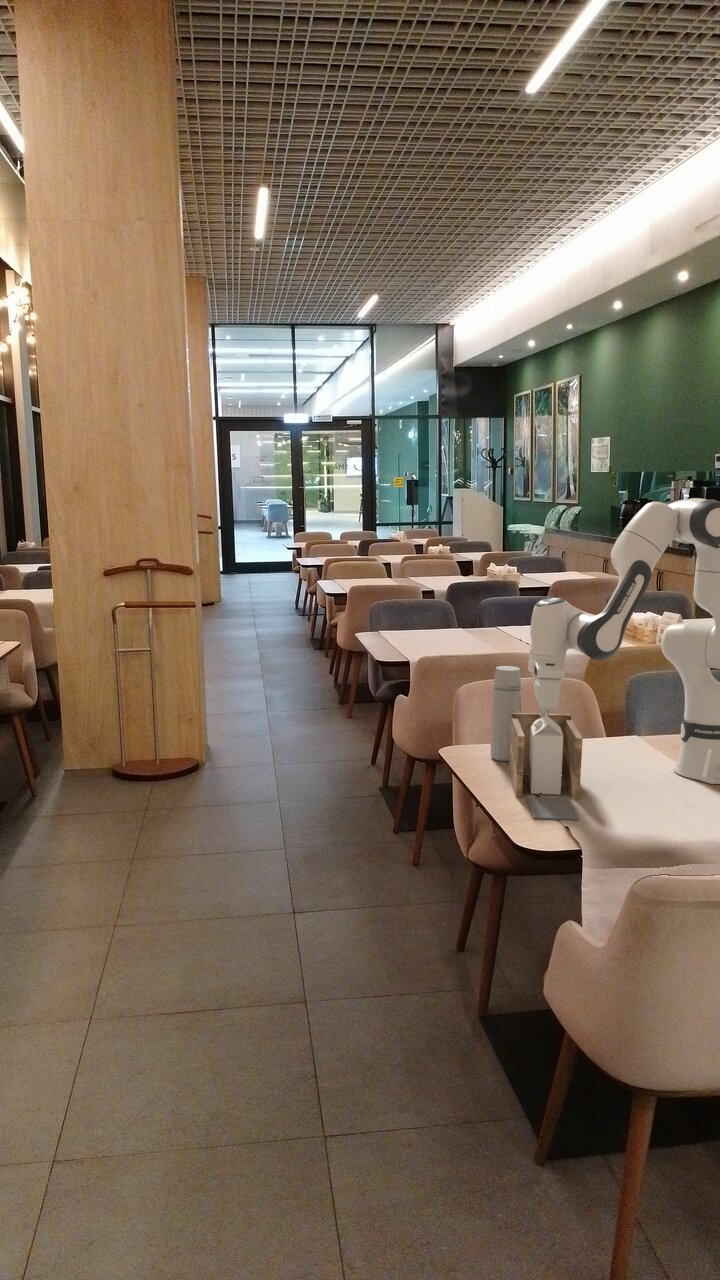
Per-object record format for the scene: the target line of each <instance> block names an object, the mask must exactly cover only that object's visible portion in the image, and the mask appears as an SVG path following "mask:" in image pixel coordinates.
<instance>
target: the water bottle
mask: <svg viewBox="0 0 720 1280" xmlns="http://www.w3.org/2000/svg"><path fill="white" fill-rule="evenodd" d="M521 674H522V673H521V668H520V667H518V666H512V665H500V666H496V667H495V671H494V678H493V682H492V686H493V688H492V710H491V711H492V713H491V717H492V718H491V736H490V737H491V740H490V757H491V758H492V759H493V760H496V761H499V762H509V758H510V734H511V713H522V702H521V701H522V700H521V690H522V689H523V686H522V678H521Z"/></svg>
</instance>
